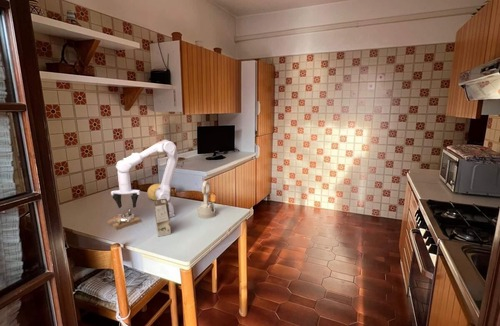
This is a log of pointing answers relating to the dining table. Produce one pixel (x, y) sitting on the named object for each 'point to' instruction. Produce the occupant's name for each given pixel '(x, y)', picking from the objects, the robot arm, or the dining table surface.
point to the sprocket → (124, 217)
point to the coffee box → (162, 217)
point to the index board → (124, 224)
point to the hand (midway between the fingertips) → (127, 207)
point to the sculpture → (153, 191)
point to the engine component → (206, 203)
